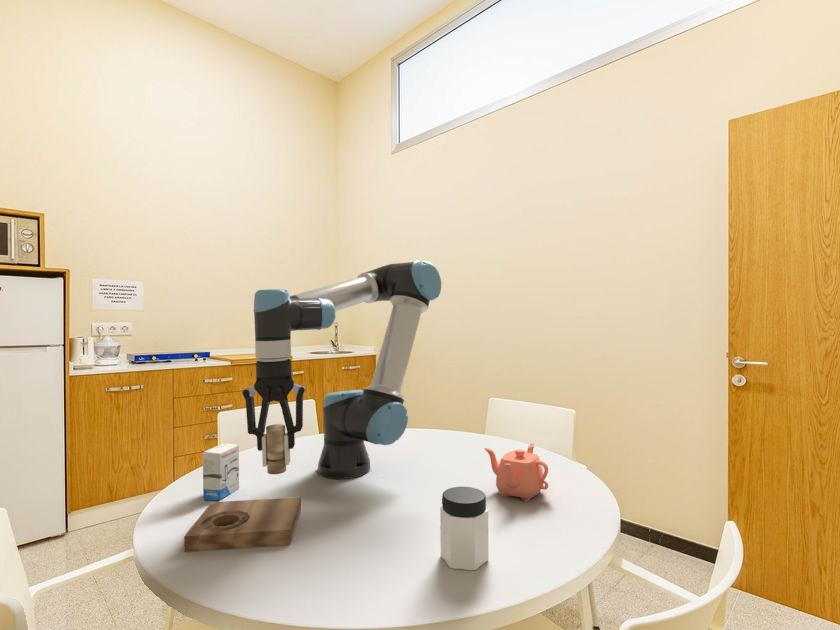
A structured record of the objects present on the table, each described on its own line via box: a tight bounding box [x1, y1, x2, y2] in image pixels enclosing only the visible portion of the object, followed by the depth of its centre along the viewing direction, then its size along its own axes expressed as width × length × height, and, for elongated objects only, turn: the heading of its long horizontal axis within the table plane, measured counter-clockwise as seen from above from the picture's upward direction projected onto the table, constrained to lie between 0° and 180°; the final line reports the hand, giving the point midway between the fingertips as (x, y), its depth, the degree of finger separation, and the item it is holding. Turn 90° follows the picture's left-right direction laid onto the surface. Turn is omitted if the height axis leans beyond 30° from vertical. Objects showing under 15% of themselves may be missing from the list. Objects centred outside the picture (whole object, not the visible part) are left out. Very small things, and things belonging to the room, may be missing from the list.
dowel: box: [265, 423, 287, 475], centre depth 101 cm, size 4×4×10 cm
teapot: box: [483, 443, 549, 502], centre depth 115 cm, size 14×14×11 cm
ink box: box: [202, 443, 240, 501], centre depth 116 cm, size 9×5×12 cm, turn 168°
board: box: [183, 496, 302, 553], centre depth 97 cm, size 20×16×3 cm
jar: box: [439, 486, 490, 571], centre depth 85 cm, size 9×8×12 cm
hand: (276, 463), depth 101 cm, fingers closed on dowel, 4 cm apart
